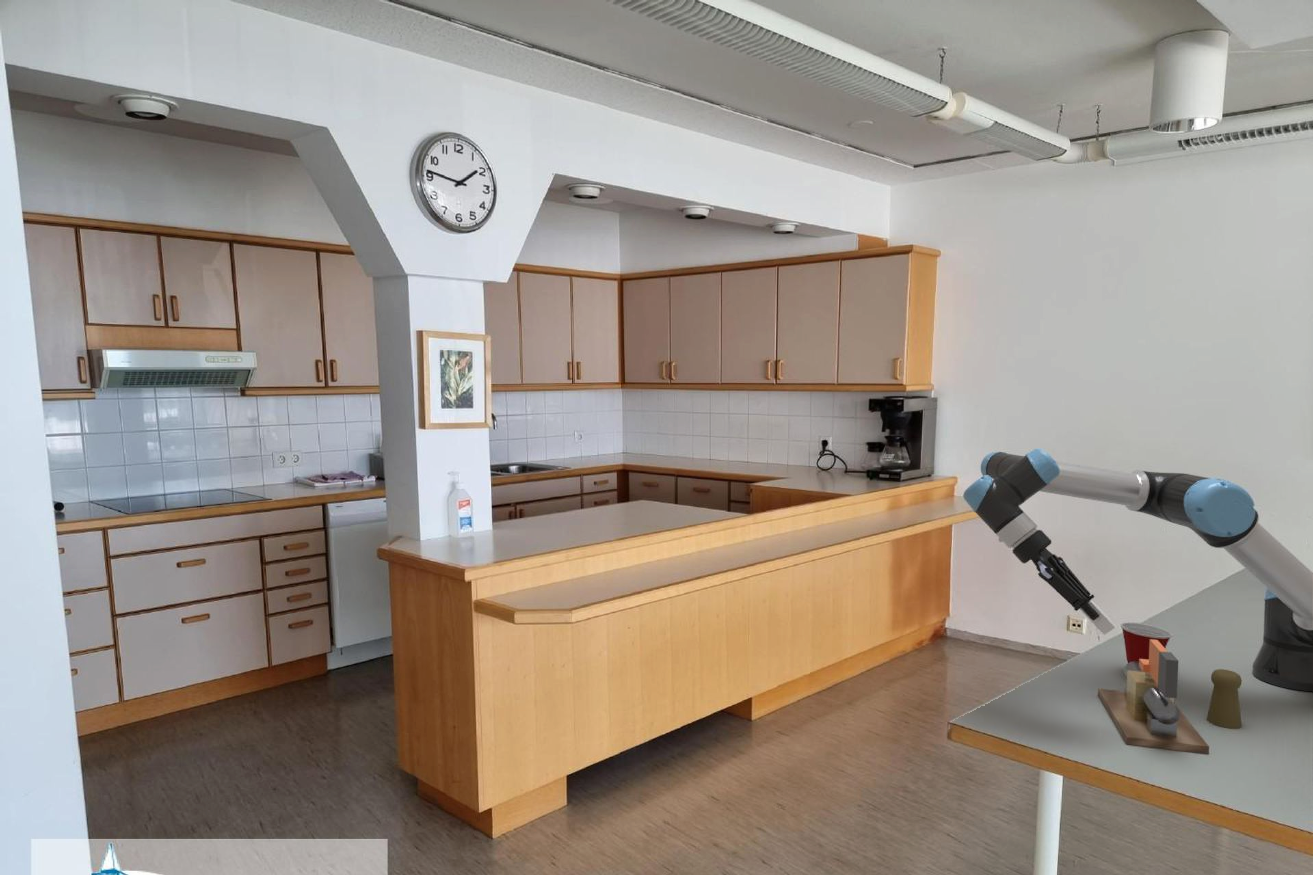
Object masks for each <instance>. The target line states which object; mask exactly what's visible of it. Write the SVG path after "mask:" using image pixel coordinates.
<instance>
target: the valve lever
mask: <svg viewBox="0 0 1313 875" xmlns="http://www.w3.org/2000/svg"><path fill="white" fill-rule="evenodd" d="M1139 667H1140V668H1141V670H1142V671H1143V672H1145V676H1147V677H1150V678H1153V679H1154V680H1155V682H1156V683H1157V684H1158V689H1159V690H1160V692H1161V693H1162V694H1163V696H1164V697H1167V698H1174V699H1178V678H1179V677H1178V676H1179V660H1178V659H1177V658H1176V656H1175V655H1174V654H1173V652H1171V651H1168V650H1167V649H1166V648H1164V647H1163V646H1162V645H1161V643H1160V642H1159V641H1158V640H1152V639H1150V644H1149V660H1147V659H1139Z"/></svg>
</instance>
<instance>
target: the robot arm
mask: <svg viewBox="0 0 1313 875" xmlns="http://www.w3.org/2000/svg"><path fill="white" fill-rule="evenodd" d="M980 473H981V477H980V478H978V479H977V480H975V481H974V482H973V483H971V485H969V486H968V487H967V488H966V489H965V490H964V491H963V499H964V501H965V502H966V503H967V505H968V506H970V508H971V509H972V511H973V512H974V513H975V514H976V515H977V516H978V517H979V518H980V520H982V521H983V522H984V523H985V524H986V525H987V526H988V528H990V530H992V532H993V533H994V534H995V535H996V537H997V538H998V539H997V540H998V541H999V543H1004V545H1006V547H1007V548H1008V549H1012V554H1014V556H1015V557H1016V558H1017V559H1018V560H1019V562H1021V563H1022V564H1027V563H1028V562H1030V561H1032V563H1033V564H1034V565H1035V569H1036V570H1037V572H1038V573H1037V574H1038V577H1039V578H1041V579H1042V580H1044V581H1045V582H1046V583H1047V584H1048V585H1049V586H1051V587H1052V589H1053V590H1055V591H1056V593H1058V594H1059V595H1060V596H1061V597H1062V598H1063V599H1064V600H1065V601H1066V602H1068V604H1069V605H1071V607H1073V608H1074V609H1073V610H1074V611H1075V612H1077V611H1078V610H1080V611H1081V612H1082V613H1083V614H1084V615H1085V616H1086V617H1087V618H1088V619H1089V620H1090V622H1091V623H1092V624H1093V625H1094V626H1095V627H1096V628H1097V629H1098V630H1099V631H1100V632H1101V634H1102V635H1103V636H1105V635H1107V634H1108V633H1109V632H1111V631H1113V630H1114V629H1115V628H1116V627H1117V625H1116V624H1115V623H1114V621H1113V620H1112V619H1111V618H1110V617H1109V616H1108V615H1107V614H1106V613H1105V612H1104V611H1103V610H1102V609H1101V607H1100V606H1099V605H1097V604H1096V602H1094V600H1093V599H1094V598H1095V595H1094V594H1093V593H1092V594H1091V592H1090V591H1089V590H1088V589H1087V588H1086V586H1084V584H1083V583H1082V582H1081V580H1080V579H1078V578H1079V577H1077V576H1076V575H1075V573H1074V572H1073V571H1072V570H1071V569H1070V567H1069V566H1068V565H1067V564H1066V562H1065V561H1064V559H1063V558H1062V557H1061V556H1057V555H1056V554H1055V553H1052V552H1051V551H1049V550H1048V549H1047V548H1048V547H1049V546H1050V545H1051V544H1052V539H1051V538H1050V537H1049V536H1047V534H1046V533H1045V532H1044V531H1043V530H1041V529H1037V528H1038V525H1037V524H1036V522H1034V520H1033V519H1031V518H1030V517H1029V515H1028V514H1026V512H1024V511H1023V509H1022V508H1021V507H1020V506H1021V505H1023V504H1024V503H1026V501H1028V500H1029V499H1030V498H1031V497H1033V496H1035V494H1037V493H1039V492H1041V493H1047V494H1054V495H1060V496H1067V497H1071V498H1079V499H1085V500H1091V501H1096V502H1102V503H1108V504H1109V503H1110V504H1116V505H1121V506H1125V507H1126V509H1128V510H1129V511H1132V512H1138V513H1142V514H1145V515H1149V516H1151V517H1155V518H1158V519H1161V520H1163V521H1166V522H1170V523H1172V524H1176V525H1179V526H1183V527H1186V528H1188V529H1190V530H1191V531H1193V532H1194V533H1195V534H1196V535H1197V536H1198V537H1200V538H1201V539H1202V540H1203V541H1204V542H1205V543H1206V544H1208V545H1209V546H1210V547H1211V548H1214V549H1224V550H1225V551H1226V552H1227V553H1228V554H1229V555H1230V556H1231V557H1232V558H1233V559H1235V560H1236V561H1237V562H1238V563H1239V564H1240V565H1241V566H1242V567H1243V568H1244V569H1246V570H1247V571H1248V572H1250V574H1251V575H1252V576H1254V578H1255V579H1257V580H1258V581H1259V582H1260V583H1261V584H1262V585H1263V586H1265V587H1266V590H1265V597H1264V599H1263V600H1264V611H1263V612H1264V613H1263V616H1264V617H1263V620H1264V621H1263V637H1262V638H1263V639H1262V645H1261V647H1260V648H1259V651H1258V653H1257V655H1256V657H1255V659H1254V661H1253V662H1252V663H1253V664H1252V675H1253V676H1254V677H1255V678H1256V679H1259V680H1260V681H1263V682H1265V683H1267V684H1271V685H1274V686H1278V687H1281V688H1287V689H1290V690H1291V689H1292V690H1297V691H1304V692H1313V571H1312V570H1311V569H1309V567H1307V565H1305V564H1304V563H1303V562H1302V561H1301V560H1299V559H1298V558H1297V557H1296V556H1295V555H1294V554H1293V553H1292V552H1291V551H1290V550H1289V549H1287V547H1285V546H1284V545H1283V543H1281V542H1280V541H1278V539H1276V537H1274V536H1273V535H1272V534H1271V533H1270V532H1269V531H1268V530H1267V529H1266V528H1265V527H1263V526H1262V525H1261V524H1260V523H1259V520H1260V515H1259V513H1258V511H1257V510H1256V509H1255V508H1254V507H1255V502H1254V499H1253V498H1252V496H1251V494H1250V493H1249V492H1248V491H1247V490H1246V489H1245V488H1243V487H1242V486H1240V485H1239V484H1237V483H1234V482H1231V481H1229V480H1225V479H1222V478H1212V477H1205V476H1201V475H1200V476H1199V475H1195V474H1190V473H1181V472H1179V473H1178V472H1157V471H1145V470H1140V469H1139V470H1138V469H1136V470H1134V471H1131V472H1124V471H1117V470H1112V469H1108V468H1107V469H1106V468H1100V467H1099V468H1098V467H1093V466H1086V465H1080V464H1075V463H1069V462H1063V461H1056V460H1055V459H1054V458H1053V457H1052V456H1051V455H1050V454H1049V453H1048V452H1047V451H1045V450H1044V449H1041V448H1034V449H1032V451H1029V452H1027V453H1026V454H1025V455H1017V454H1012V453H1007V452H1003V451H998V452H997V451H995V452H991V453H988V454H987V455H985V456H984V457H983V459H982V461H981V463H980Z"/></svg>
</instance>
